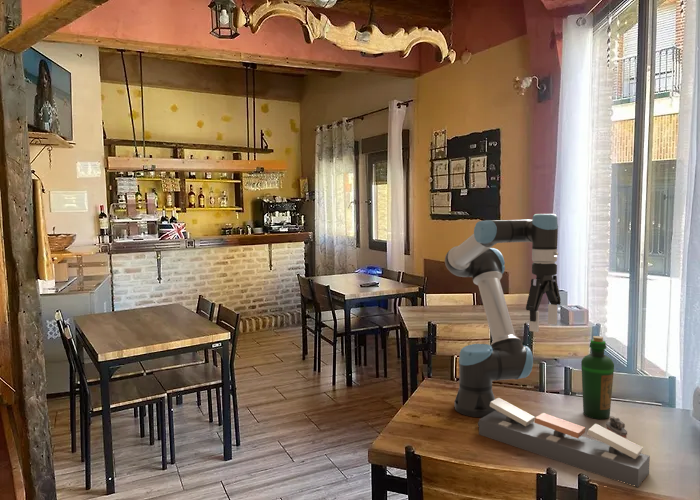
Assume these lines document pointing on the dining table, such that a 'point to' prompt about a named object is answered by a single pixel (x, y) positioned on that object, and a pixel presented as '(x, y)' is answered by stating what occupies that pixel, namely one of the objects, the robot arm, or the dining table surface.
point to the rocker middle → (560, 425)
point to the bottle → (597, 380)
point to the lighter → (616, 426)
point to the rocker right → (615, 441)
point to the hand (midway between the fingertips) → (543, 327)
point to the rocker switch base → (566, 448)
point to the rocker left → (512, 411)
